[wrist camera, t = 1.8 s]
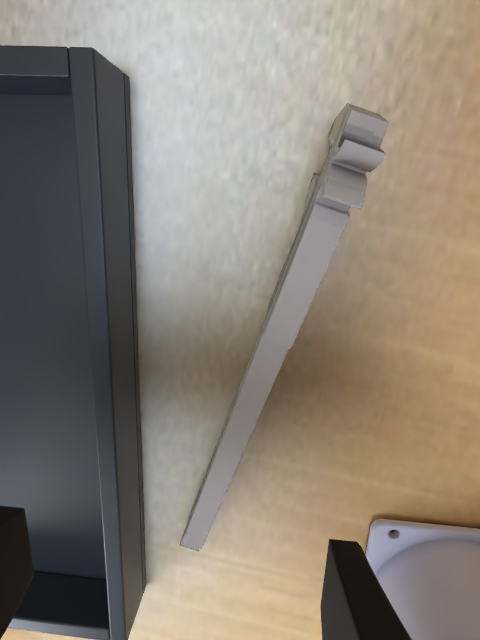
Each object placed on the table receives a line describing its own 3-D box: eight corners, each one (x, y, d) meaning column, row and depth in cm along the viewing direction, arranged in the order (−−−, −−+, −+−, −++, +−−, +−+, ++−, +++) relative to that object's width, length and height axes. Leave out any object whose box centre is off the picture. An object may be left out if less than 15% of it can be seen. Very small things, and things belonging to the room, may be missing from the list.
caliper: (329, 122, 14) (366, 69, 9) (358, 132, 14) (415, 86, 9) (181, 537, 21) (142, 675, 15) (201, 544, 21) (170, 684, 15)
